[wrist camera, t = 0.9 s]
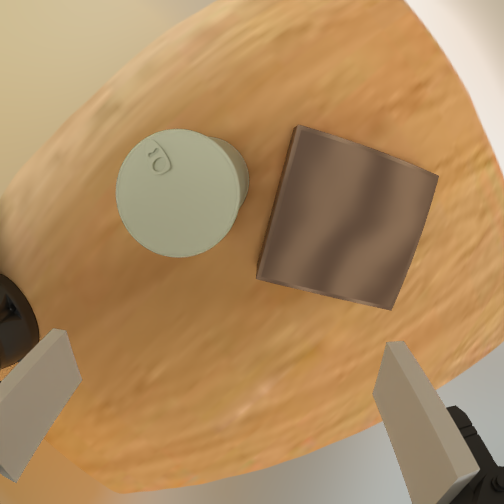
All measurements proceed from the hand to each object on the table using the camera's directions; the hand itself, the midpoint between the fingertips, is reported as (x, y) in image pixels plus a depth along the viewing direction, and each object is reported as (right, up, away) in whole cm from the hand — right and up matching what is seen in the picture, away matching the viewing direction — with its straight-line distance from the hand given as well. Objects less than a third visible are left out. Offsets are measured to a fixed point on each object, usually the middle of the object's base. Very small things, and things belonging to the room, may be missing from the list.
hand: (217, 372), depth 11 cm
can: (-3, +12, +21) cm, 24 cm away
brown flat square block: (+11, +8, +21) cm, 25 cm away
